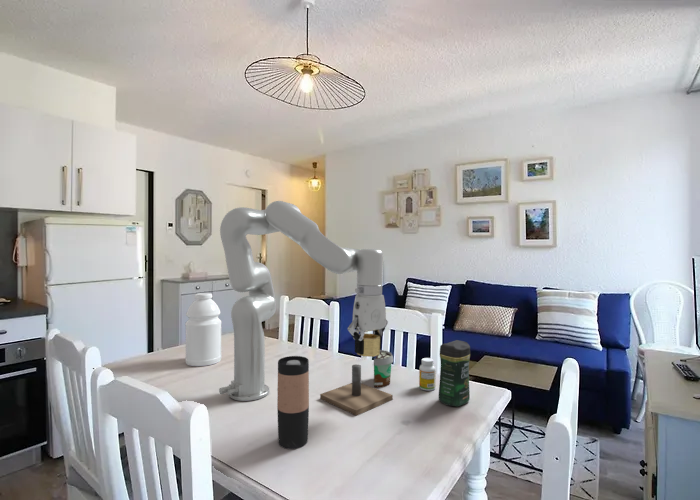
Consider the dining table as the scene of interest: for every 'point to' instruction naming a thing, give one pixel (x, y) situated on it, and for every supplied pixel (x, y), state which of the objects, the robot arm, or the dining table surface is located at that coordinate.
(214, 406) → the dining table surface
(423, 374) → the supplement bottle
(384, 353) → the food container
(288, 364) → the travel mug
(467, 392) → the coffee jar
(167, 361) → the dining table surface
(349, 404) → the post stand
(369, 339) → the brass collar
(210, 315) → the bottle
